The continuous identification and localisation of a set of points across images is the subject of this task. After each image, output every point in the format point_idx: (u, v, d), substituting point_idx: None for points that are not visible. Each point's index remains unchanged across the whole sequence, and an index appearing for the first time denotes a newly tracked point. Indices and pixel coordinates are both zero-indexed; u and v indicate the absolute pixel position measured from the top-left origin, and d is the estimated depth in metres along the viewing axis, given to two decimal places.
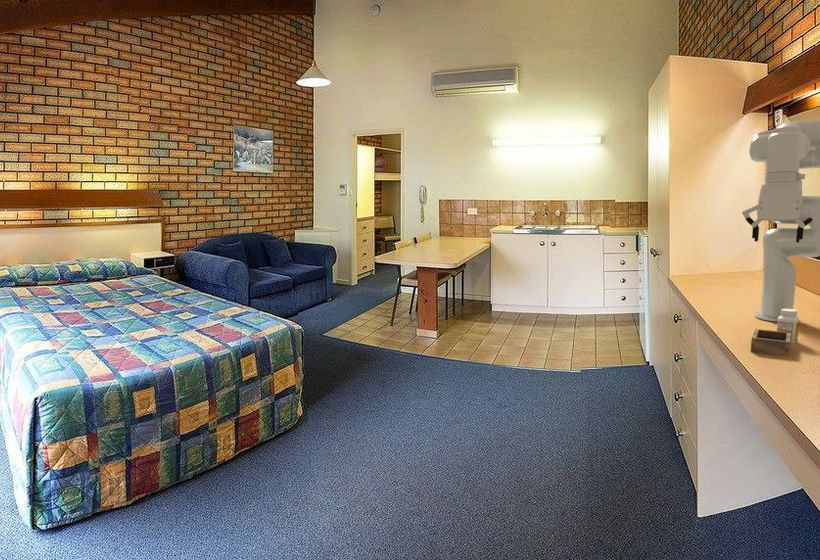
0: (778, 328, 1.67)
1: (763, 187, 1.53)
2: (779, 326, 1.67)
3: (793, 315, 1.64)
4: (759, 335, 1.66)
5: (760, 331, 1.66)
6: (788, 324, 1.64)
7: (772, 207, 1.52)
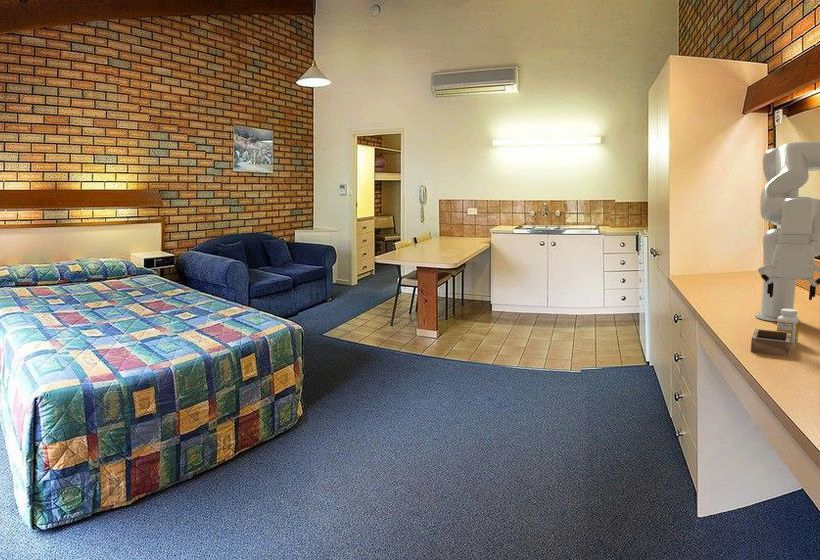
0: (778, 328, 1.67)
1: (778, 247, 1.64)
2: (779, 326, 1.67)
3: (793, 315, 1.64)
4: (759, 335, 1.66)
5: (760, 331, 1.66)
6: (788, 324, 1.64)
7: (786, 266, 1.63)
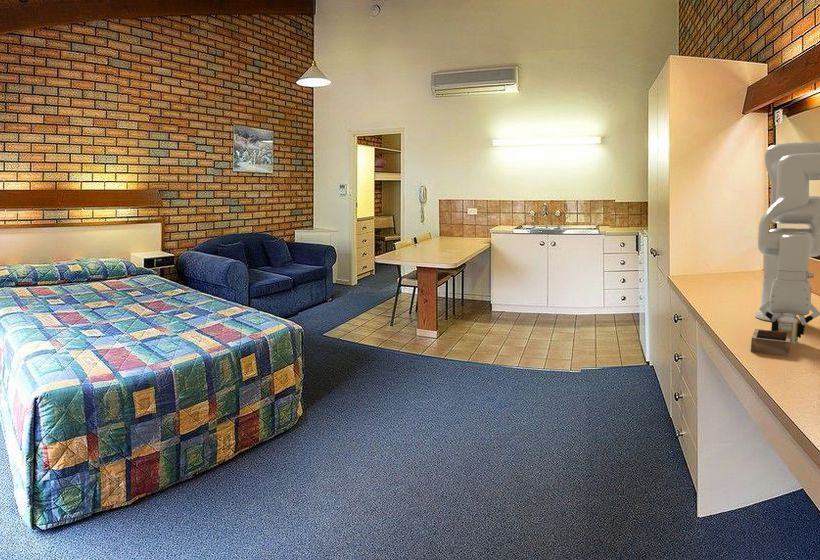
0: (778, 328, 1.67)
1: (775, 283, 1.65)
2: (779, 326, 1.67)
3: (793, 315, 1.64)
4: (759, 335, 1.66)
5: (760, 331, 1.66)
6: (788, 324, 1.64)
7: (783, 302, 1.65)
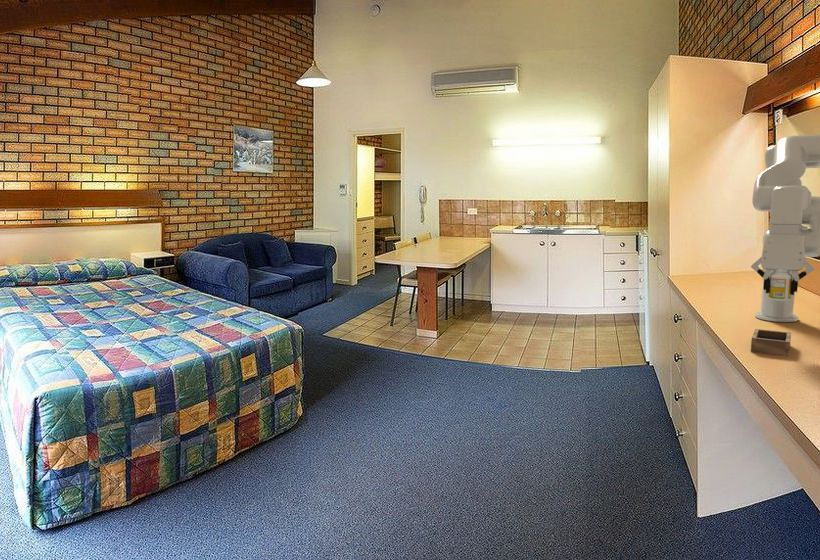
0: (770, 285, 1.60)
1: (767, 238, 1.58)
2: (771, 284, 1.59)
3: (786, 271, 1.57)
4: (759, 335, 1.66)
5: (760, 331, 1.66)
6: (781, 280, 1.57)
7: (775, 257, 1.57)
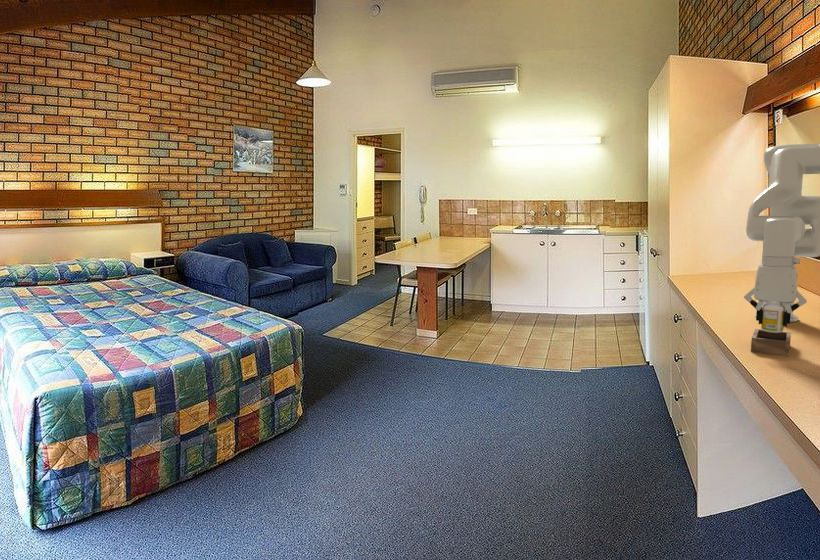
0: (763, 317, 1.60)
1: (760, 269, 1.58)
2: (764, 315, 1.59)
3: (778, 303, 1.57)
4: (759, 335, 1.66)
5: (760, 331, 1.66)
6: (773, 312, 1.57)
7: (768, 289, 1.57)
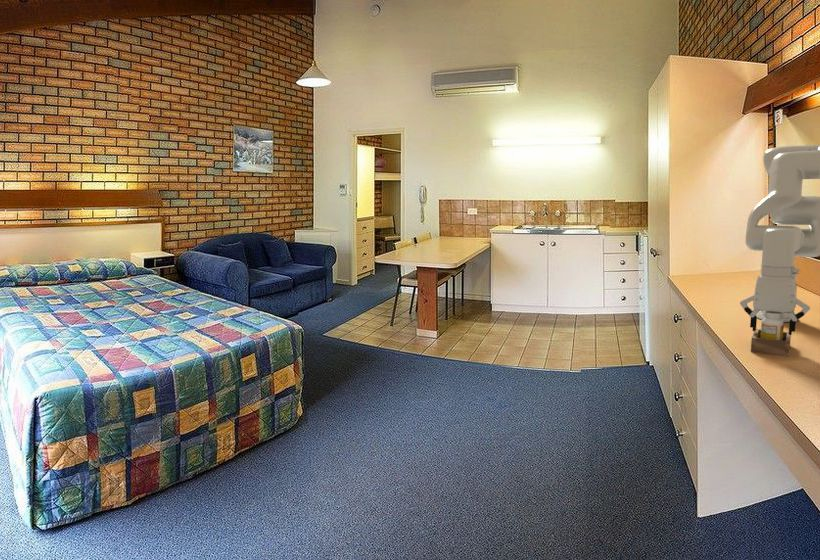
0: (762, 331, 1.60)
1: (759, 279, 1.58)
2: (762, 330, 1.60)
3: (777, 318, 1.57)
4: (759, 335, 1.66)
5: (760, 331, 1.66)
6: (772, 327, 1.57)
7: (767, 299, 1.57)
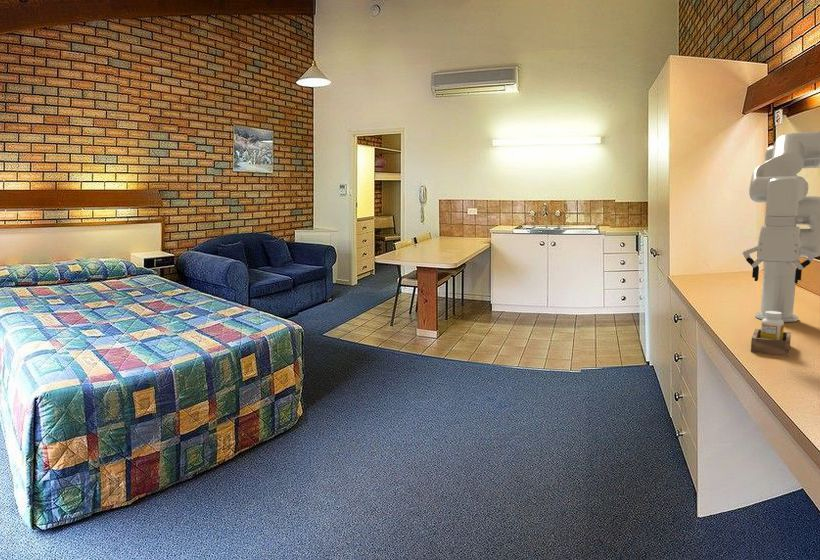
0: (762, 331, 1.60)
1: (763, 230, 1.58)
2: (763, 330, 1.60)
3: (777, 318, 1.58)
4: (759, 335, 1.66)
5: (760, 331, 1.66)
6: (772, 327, 1.58)
7: (771, 249, 1.57)
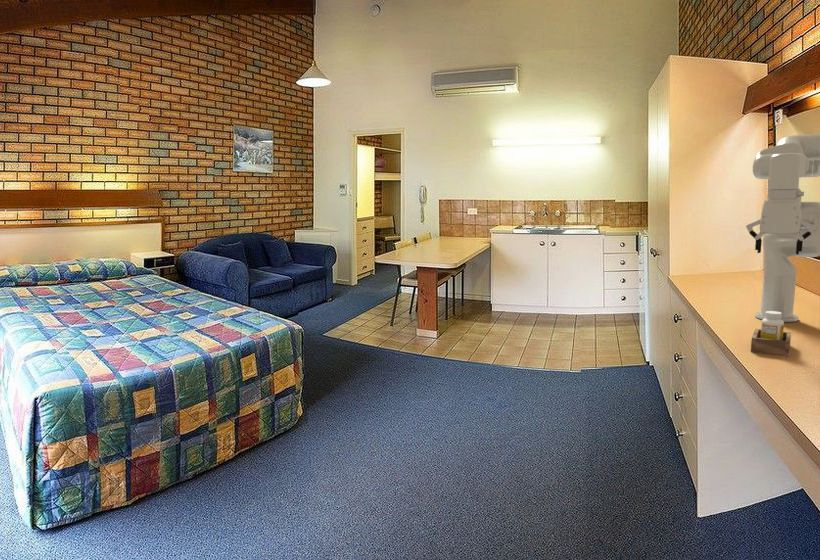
0: (762, 331, 1.60)
1: (765, 203, 1.66)
2: (763, 330, 1.60)
3: (777, 318, 1.58)
4: (759, 335, 1.66)
5: (760, 331, 1.66)
6: (772, 327, 1.58)
7: (773, 222, 1.65)
